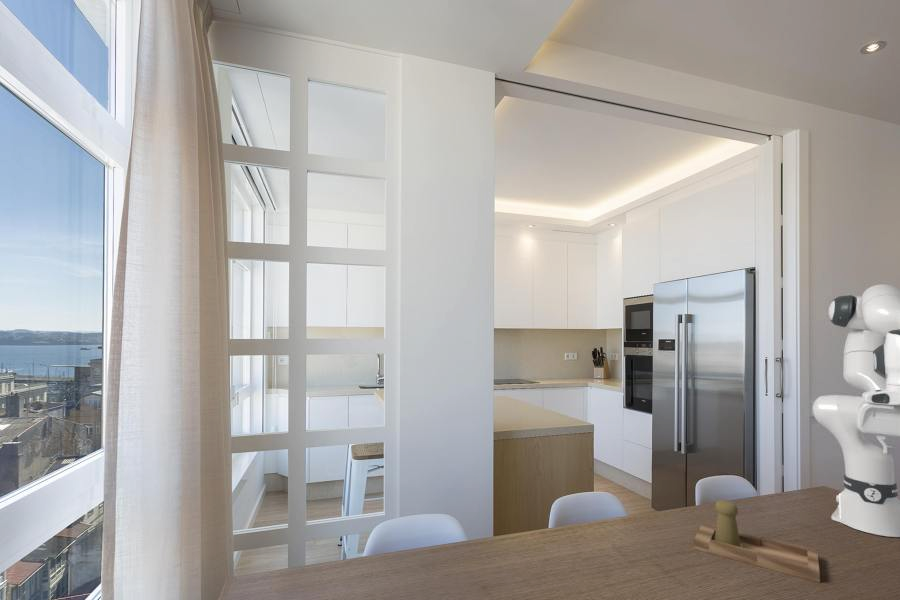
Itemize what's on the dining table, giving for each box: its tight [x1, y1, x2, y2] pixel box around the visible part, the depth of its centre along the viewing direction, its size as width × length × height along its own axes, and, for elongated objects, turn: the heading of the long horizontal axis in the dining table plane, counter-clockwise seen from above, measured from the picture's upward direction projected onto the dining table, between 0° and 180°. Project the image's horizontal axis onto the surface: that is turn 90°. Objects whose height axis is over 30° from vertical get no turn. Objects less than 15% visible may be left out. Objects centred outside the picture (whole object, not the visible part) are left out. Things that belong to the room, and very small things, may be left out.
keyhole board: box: [693, 522, 821, 583], centre depth 118 cm, size 14×26×2 cm, turn 53°
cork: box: [714, 500, 741, 547], centre depth 122 cm, size 6×6×11 cm
